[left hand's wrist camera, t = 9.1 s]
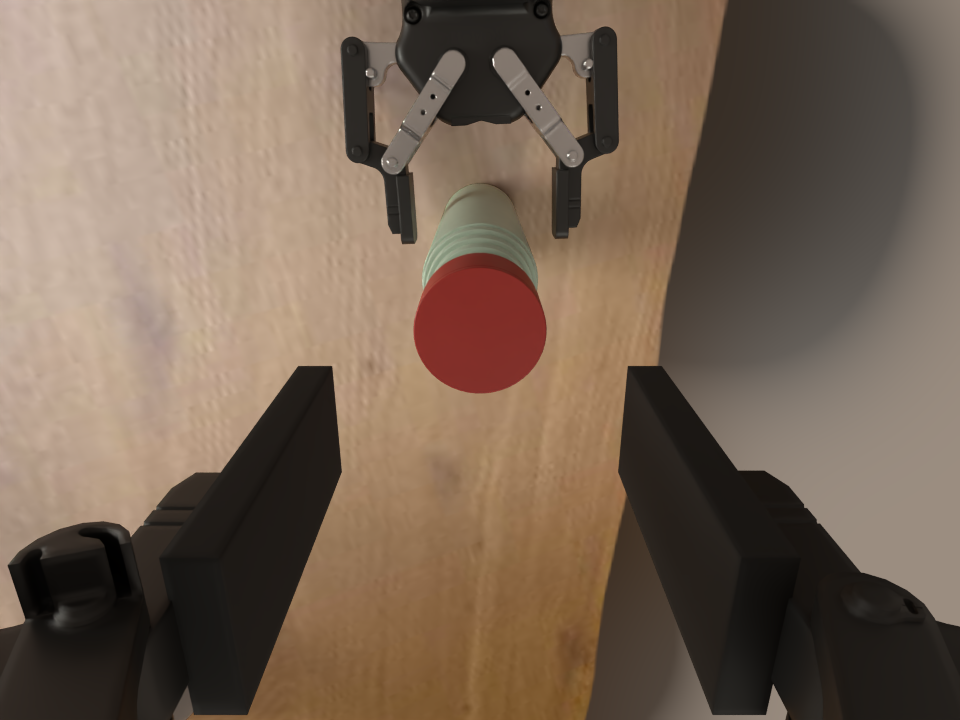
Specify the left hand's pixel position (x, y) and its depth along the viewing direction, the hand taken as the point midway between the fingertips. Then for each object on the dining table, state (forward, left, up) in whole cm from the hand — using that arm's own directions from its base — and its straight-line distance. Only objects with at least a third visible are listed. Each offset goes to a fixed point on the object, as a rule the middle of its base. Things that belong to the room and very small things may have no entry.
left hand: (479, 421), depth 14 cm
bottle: (0, 0, -29) cm, 29 cm away
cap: (0, 0, -7) cm, 7 cm away
